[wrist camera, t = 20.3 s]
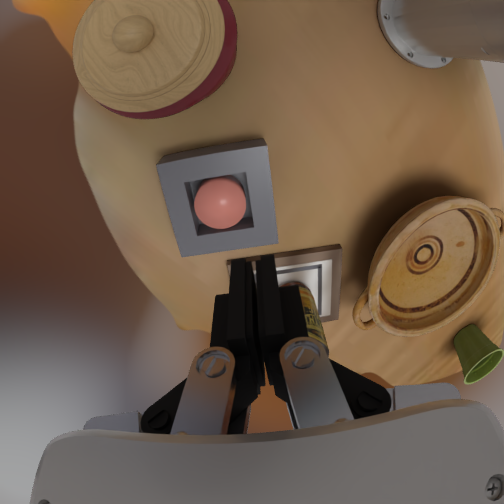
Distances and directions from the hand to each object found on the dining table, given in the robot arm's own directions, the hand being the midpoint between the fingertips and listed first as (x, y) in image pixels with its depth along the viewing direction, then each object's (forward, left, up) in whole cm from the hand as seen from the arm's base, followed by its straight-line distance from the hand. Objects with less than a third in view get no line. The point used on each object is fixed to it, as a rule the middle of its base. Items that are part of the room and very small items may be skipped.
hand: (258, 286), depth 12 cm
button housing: (+3, +6, -26) cm, 27 cm away
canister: (+6, -12, -26) cm, 30 cm away
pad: (-3, +23, -26) cm, 35 cm away
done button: (+4, +6, -25) cm, 26 cm away
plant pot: (-46, +47, -26) cm, 71 cm away
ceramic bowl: (-26, +19, -26) cm, 41 cm away
